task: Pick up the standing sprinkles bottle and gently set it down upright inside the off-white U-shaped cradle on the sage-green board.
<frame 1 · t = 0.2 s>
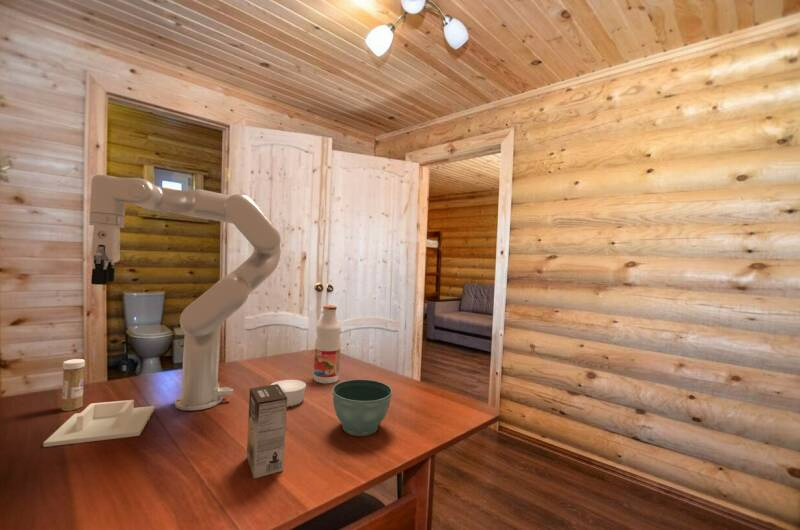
hand: (103, 282, 99), 36 cm above the table, tool pointing down, fingers open, 9 cm apart
flower pot: (360, 429, 98), on the table
fruit juice: (326, 380, 135), on the table
coffee box: (264, 465, 79), on the table
ramekin: (286, 402, 113), on the table
sprinkles bottle: (72, 408, 101), on the table
u rest: (105, 426, 92), on the table
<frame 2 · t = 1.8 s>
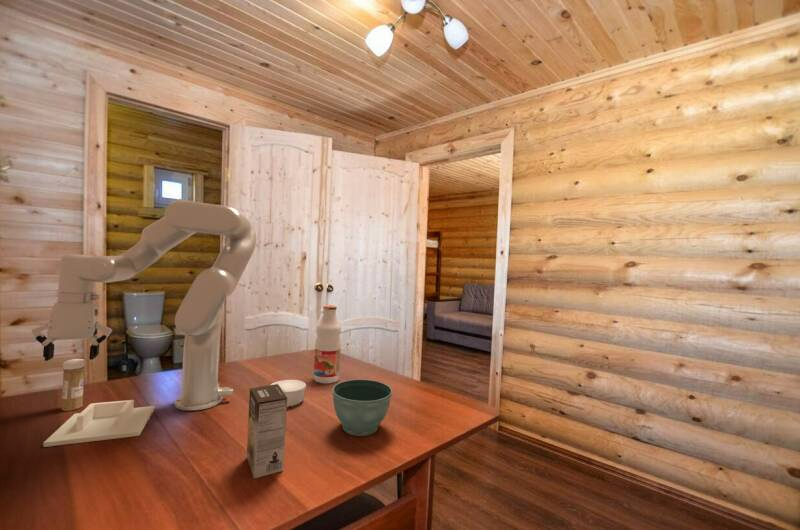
hand: (71, 358, 100), 14 cm above the table, tool pointing down, fingers open, 9 cm apart
nothing on the table moved.
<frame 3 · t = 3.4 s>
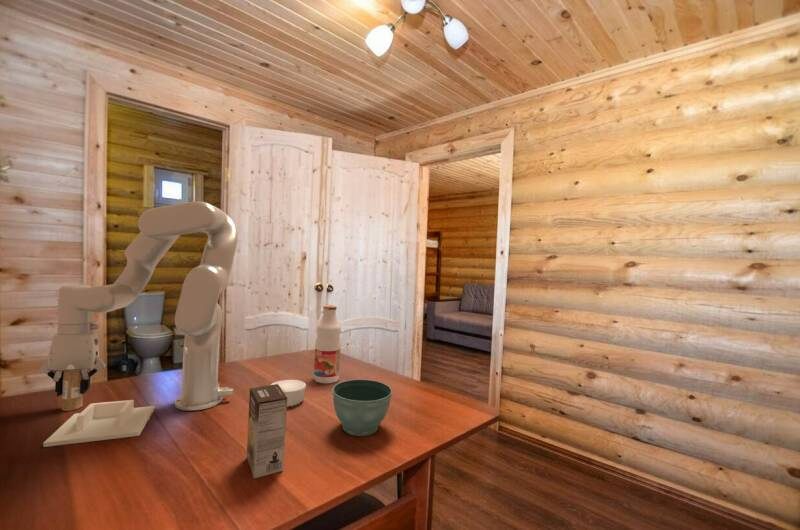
hand: (72, 392, 101), 4 cm above the table, tool pointing down, fingers closed on sprinkles bottle, 4 cm apart
sprinkles bottle: (72, 408, 101), on the table, touching gripper
everything else where it was.
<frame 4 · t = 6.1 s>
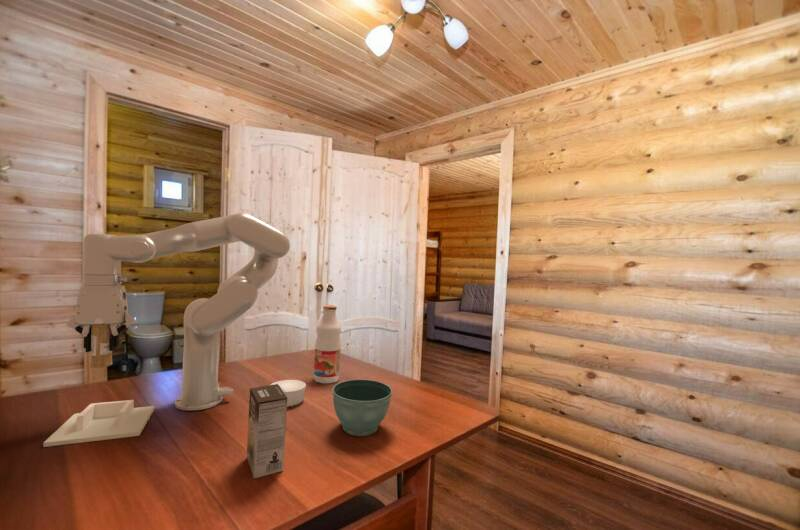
hand: (101, 349, 94), 19 cm above the table, tool pointing down, fingers closed on sprinkles bottle, 4 cm apart
sprinkles bottle: (101, 366, 94), point 14 cm above the table, touching gripper
everything else where it was.
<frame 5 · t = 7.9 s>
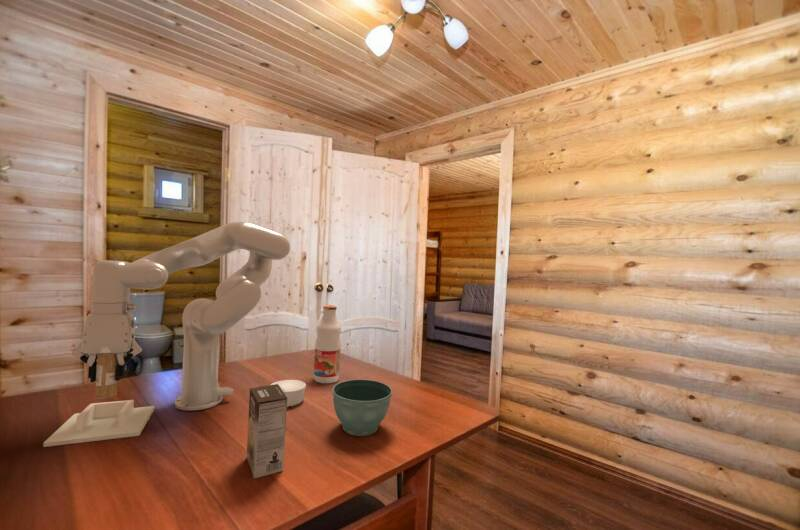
hand: (106, 379, 91), 12 cm above the table, tool pointing down, fingers closed on sprinkles bottle, 4 cm apart
sprinkles bottle: (105, 396, 91), point 8 cm above the table, touching gripper
everything else where it was.
when the fingers open (6 cm above the table, at t = 9.3 s): sprinkles bottle stays where it is, resting on u rest.
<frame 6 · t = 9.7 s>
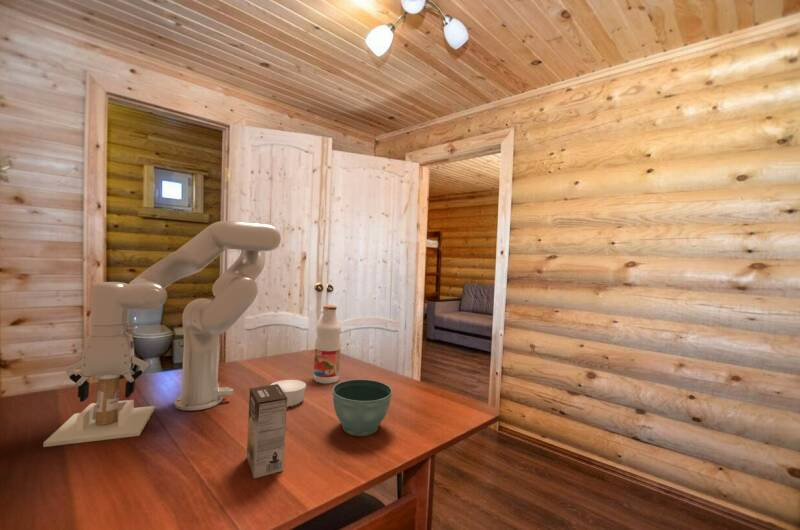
hand: (106, 397, 92), 7 cm above the table, tool pointing down, fingers open, 8 cm apart
sprinkles bottle: (106, 422, 92), point 1 cm above the table, touching u rest
everything else where it was.
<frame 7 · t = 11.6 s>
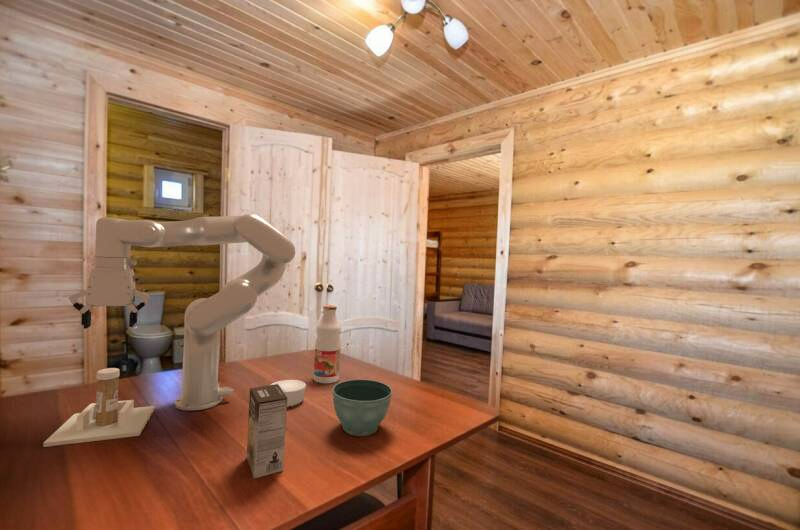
hand: (110, 326, 97), 24 cm above the table, tool pointing down, fingers open, 9 cm apart
nothing on the table moved.
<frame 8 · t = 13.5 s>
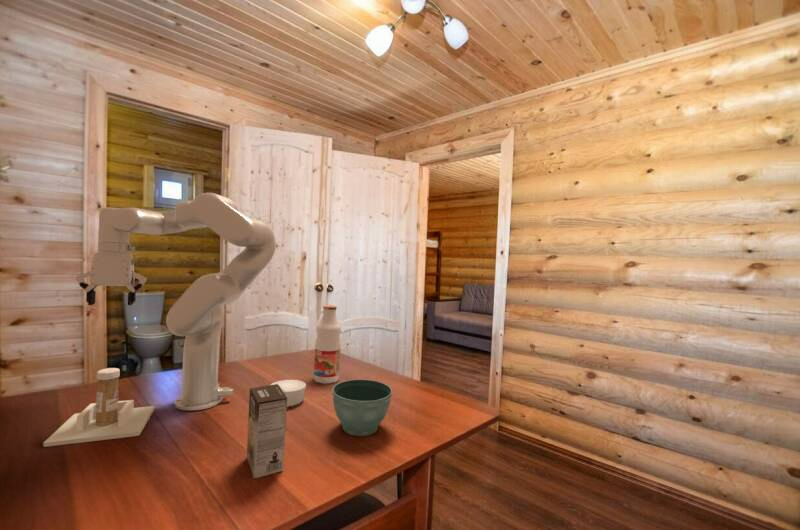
hand: (111, 304, 109), 28 cm above the table, tool pointing down, fingers open, 9 cm apart
nothing on the table moved.
at the end: sprinkles bottle 0.1 cm off-centre on the u rest, point 0.8 cm above the u rest's base; sprinkles bottle tilted 0°; the gripper is holding nothing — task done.
